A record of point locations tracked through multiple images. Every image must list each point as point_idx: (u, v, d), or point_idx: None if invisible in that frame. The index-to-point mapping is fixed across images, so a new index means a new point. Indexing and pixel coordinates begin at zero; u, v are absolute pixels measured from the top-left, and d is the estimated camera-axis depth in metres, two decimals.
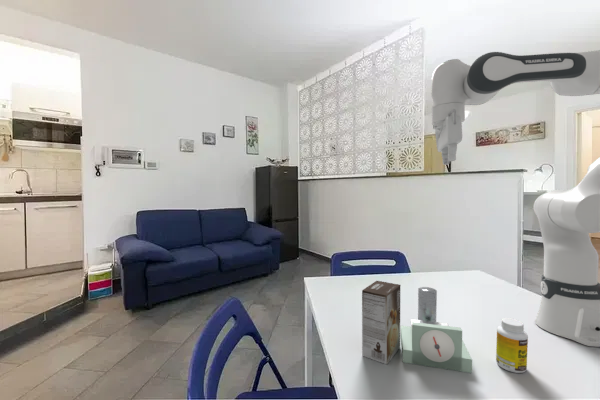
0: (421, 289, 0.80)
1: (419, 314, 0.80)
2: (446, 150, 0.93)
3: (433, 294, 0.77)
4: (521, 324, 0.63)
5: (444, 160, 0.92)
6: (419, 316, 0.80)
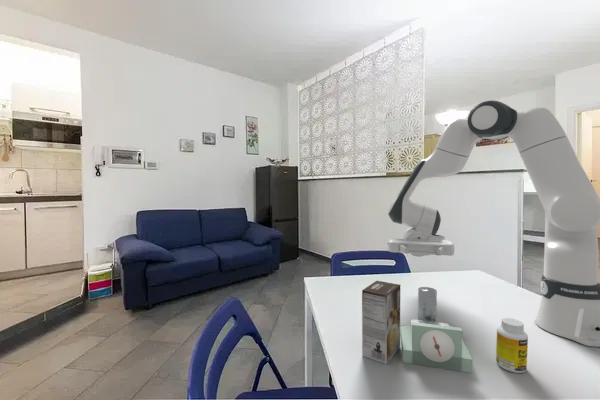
0: (421, 289, 0.80)
1: (419, 314, 0.79)
2: (437, 249, 0.94)
3: (433, 294, 0.77)
4: (521, 324, 0.63)
5: (435, 253, 0.91)
6: (419, 316, 0.80)
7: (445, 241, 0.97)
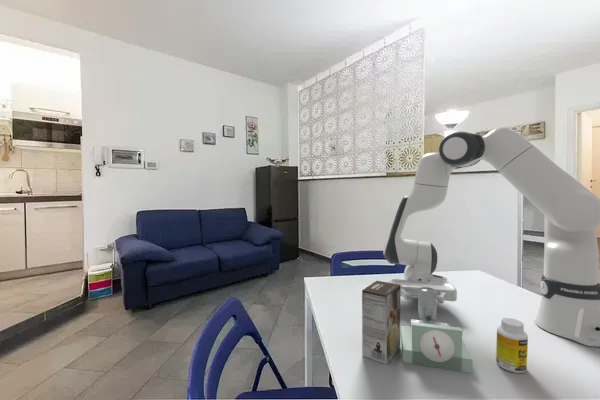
0: (421, 289, 0.80)
1: (419, 314, 0.80)
2: (439, 294, 0.90)
3: (433, 294, 0.77)
4: (521, 324, 0.63)
5: (437, 300, 0.88)
6: (419, 316, 0.80)
7: (447, 284, 0.94)
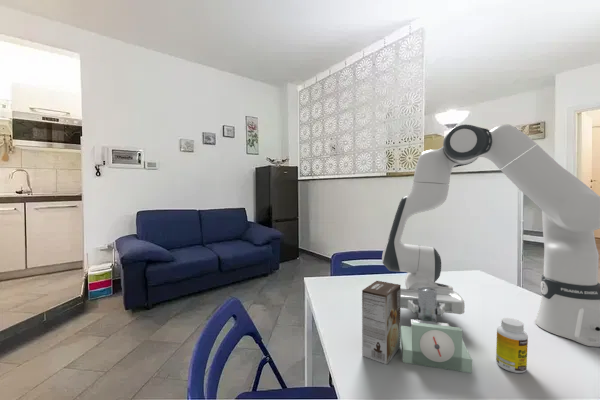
0: (421, 289, 0.80)
1: (419, 314, 0.79)
2: (438, 305, 0.82)
3: (433, 294, 0.77)
4: (521, 324, 0.63)
5: (436, 312, 0.79)
6: (419, 316, 0.80)
7: (453, 295, 0.85)
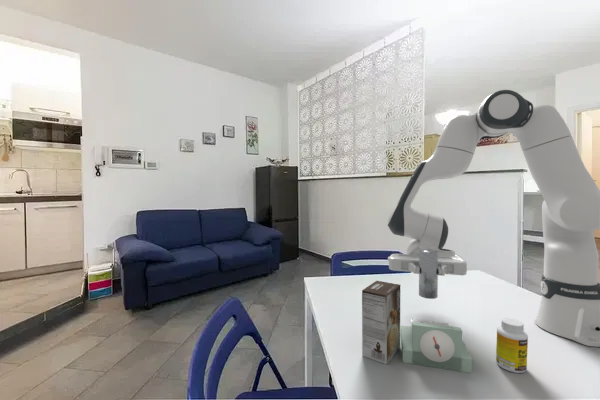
0: (422, 250, 0.78)
1: (420, 276, 0.78)
2: (440, 267, 0.80)
3: (434, 255, 0.75)
4: (521, 324, 0.63)
5: None
6: (420, 278, 0.78)
7: (455, 257, 0.83)
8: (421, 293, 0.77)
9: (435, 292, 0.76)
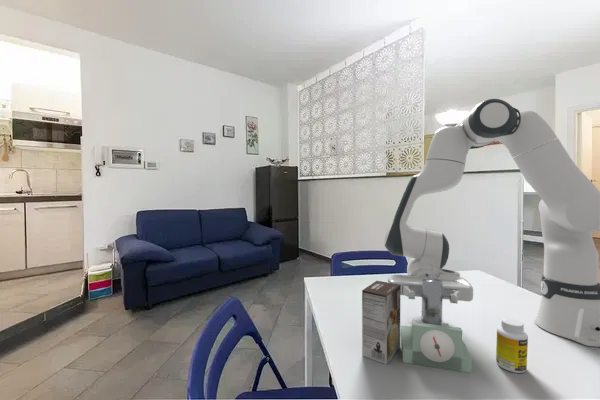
0: (425, 280, 0.72)
1: (423, 308, 0.72)
2: (452, 292, 0.73)
3: (439, 286, 0.69)
4: (521, 324, 0.63)
5: (450, 300, 0.71)
6: (423, 310, 0.72)
7: (461, 281, 0.77)
8: None
9: None
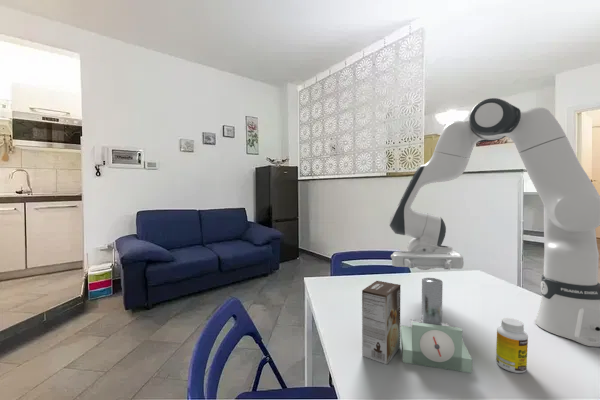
0: (425, 280, 0.72)
1: (423, 308, 0.72)
2: (445, 262, 0.87)
3: (438, 286, 0.69)
4: (521, 324, 0.63)
5: (444, 267, 0.84)
6: (423, 310, 0.72)
7: (453, 253, 0.90)
8: None
9: None
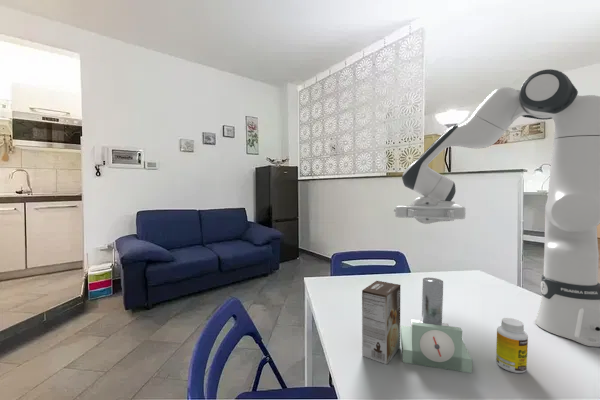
0: (426, 280, 0.72)
1: (423, 307, 0.72)
2: None
3: (439, 285, 0.70)
4: (521, 324, 0.63)
5: (446, 216, 0.86)
6: (423, 309, 0.72)
7: (455, 205, 0.92)
8: None
9: None
